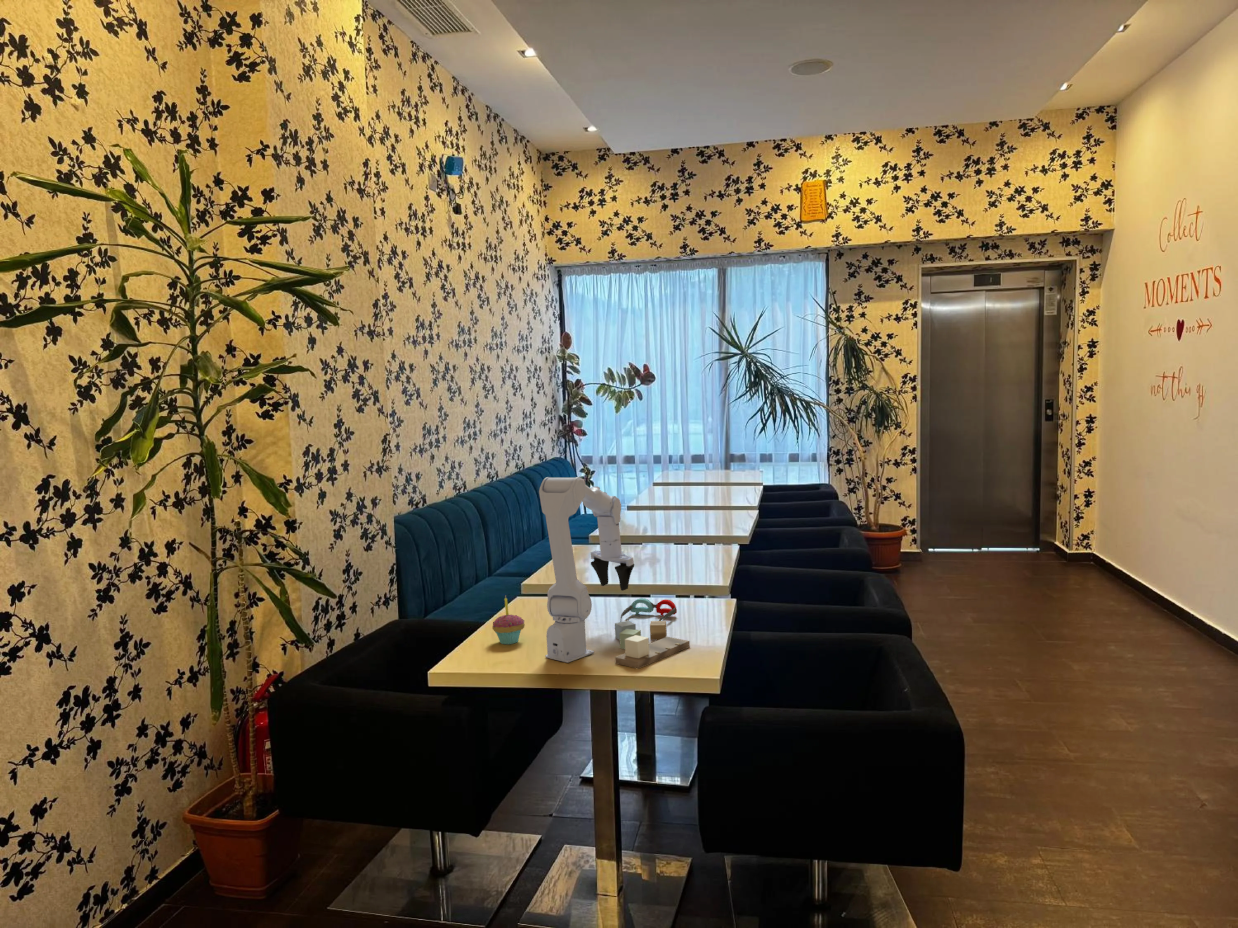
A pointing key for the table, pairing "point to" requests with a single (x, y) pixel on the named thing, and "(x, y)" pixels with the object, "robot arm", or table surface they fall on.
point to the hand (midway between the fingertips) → (614, 587)
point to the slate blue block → (623, 627)
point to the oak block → (658, 630)
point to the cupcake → (508, 627)
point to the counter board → (654, 652)
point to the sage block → (627, 636)
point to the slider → (636, 646)
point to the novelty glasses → (652, 607)
